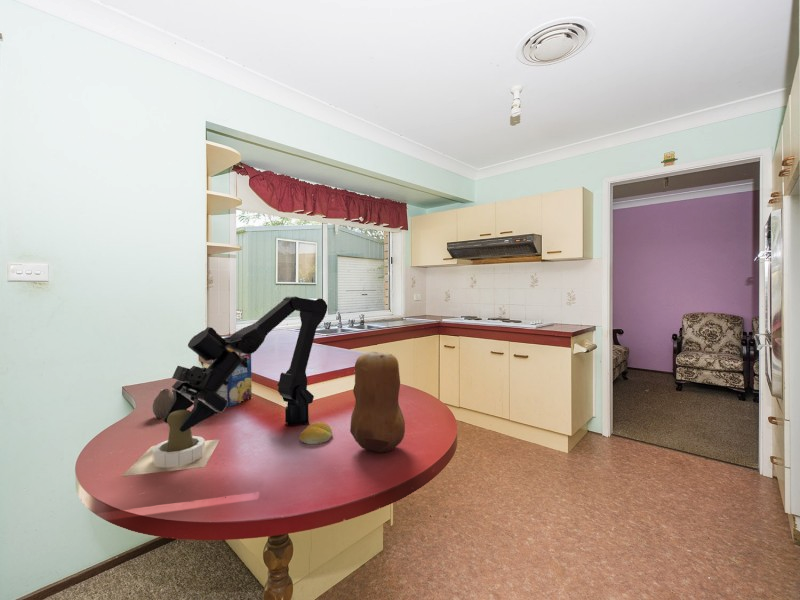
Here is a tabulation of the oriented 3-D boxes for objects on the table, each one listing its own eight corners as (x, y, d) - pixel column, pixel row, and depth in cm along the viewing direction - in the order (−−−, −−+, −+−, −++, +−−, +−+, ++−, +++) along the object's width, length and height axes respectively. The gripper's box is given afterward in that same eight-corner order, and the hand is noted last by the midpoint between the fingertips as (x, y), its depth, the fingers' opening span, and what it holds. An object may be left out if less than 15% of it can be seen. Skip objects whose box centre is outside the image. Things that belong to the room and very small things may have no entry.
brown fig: (147, 418, 117) (147, 391, 117) (168, 412, 123) (168, 386, 123) (162, 421, 114) (161, 393, 114) (182, 414, 121) (182, 388, 121)
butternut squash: (400, 437, 101) (399, 347, 100) (409, 458, 88) (409, 355, 87) (349, 440, 99) (348, 348, 98) (351, 463, 85) (350, 357, 85)
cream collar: (209, 445, 93) (208, 434, 93) (197, 464, 83) (197, 451, 83) (163, 450, 91) (162, 438, 91) (145, 470, 81) (145, 456, 80)
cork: (171, 465, 83) (171, 417, 83) (161, 457, 86) (160, 411, 86) (199, 455, 88) (198, 410, 87) (188, 449, 91) (187, 405, 91)
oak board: (220, 443, 97) (220, 439, 97) (204, 471, 82) (204, 466, 82) (151, 449, 93) (151, 446, 93) (121, 480, 78) (121, 476, 78)
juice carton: (236, 396, 142) (235, 334, 141) (251, 398, 139) (251, 335, 139) (211, 405, 131) (210, 338, 130) (227, 407, 128) (226, 339, 128)
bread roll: (295, 445, 97) (295, 430, 97) (309, 432, 105) (309, 418, 105) (324, 447, 95) (324, 431, 95) (336, 434, 104) (336, 420, 104)
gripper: (180, 349, 95) (130, 401, 87) (213, 356, 84) (159, 417, 75) (211, 373, 102) (167, 424, 93) (246, 383, 90) (200, 442, 82)
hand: (172, 426), depth 86 cm, fingers open, 9 cm apart
